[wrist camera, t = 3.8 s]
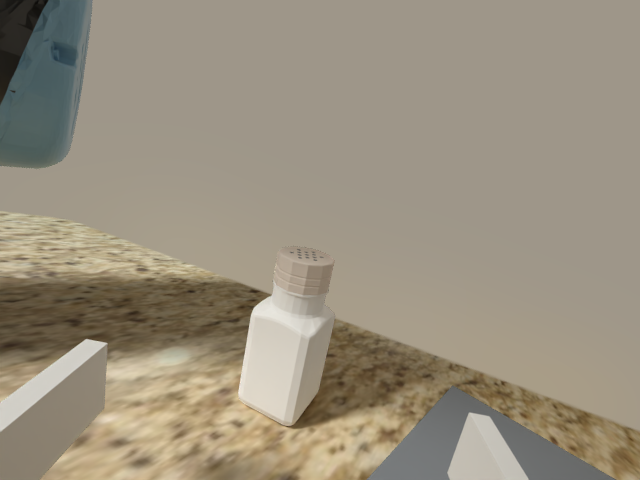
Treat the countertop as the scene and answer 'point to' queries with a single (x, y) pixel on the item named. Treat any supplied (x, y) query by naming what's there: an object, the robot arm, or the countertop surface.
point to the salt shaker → (289, 337)
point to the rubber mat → (443, 436)
